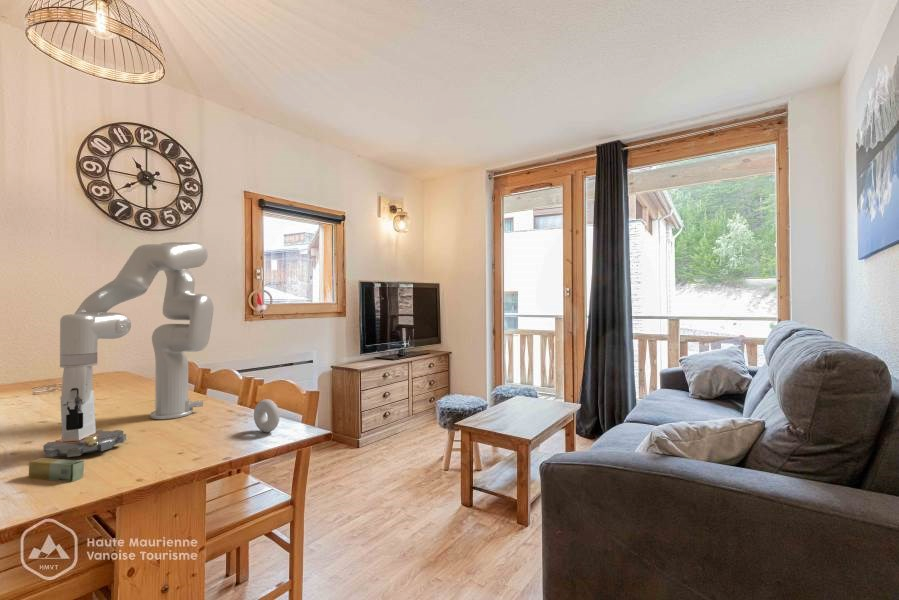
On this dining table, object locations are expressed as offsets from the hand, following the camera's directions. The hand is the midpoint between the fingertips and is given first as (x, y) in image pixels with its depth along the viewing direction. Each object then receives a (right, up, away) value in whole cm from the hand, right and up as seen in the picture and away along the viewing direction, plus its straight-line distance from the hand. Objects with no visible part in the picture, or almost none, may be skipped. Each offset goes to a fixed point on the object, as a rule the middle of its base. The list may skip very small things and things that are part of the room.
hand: (78, 424), depth 111 cm
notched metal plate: (+3, -5, -1) cm, 6 cm away
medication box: (+10, -7, -17) cm, 21 cm away
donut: (+44, -7, +15) cm, 47 cm away
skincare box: (0, -4, 0) cm, 4 cm away
